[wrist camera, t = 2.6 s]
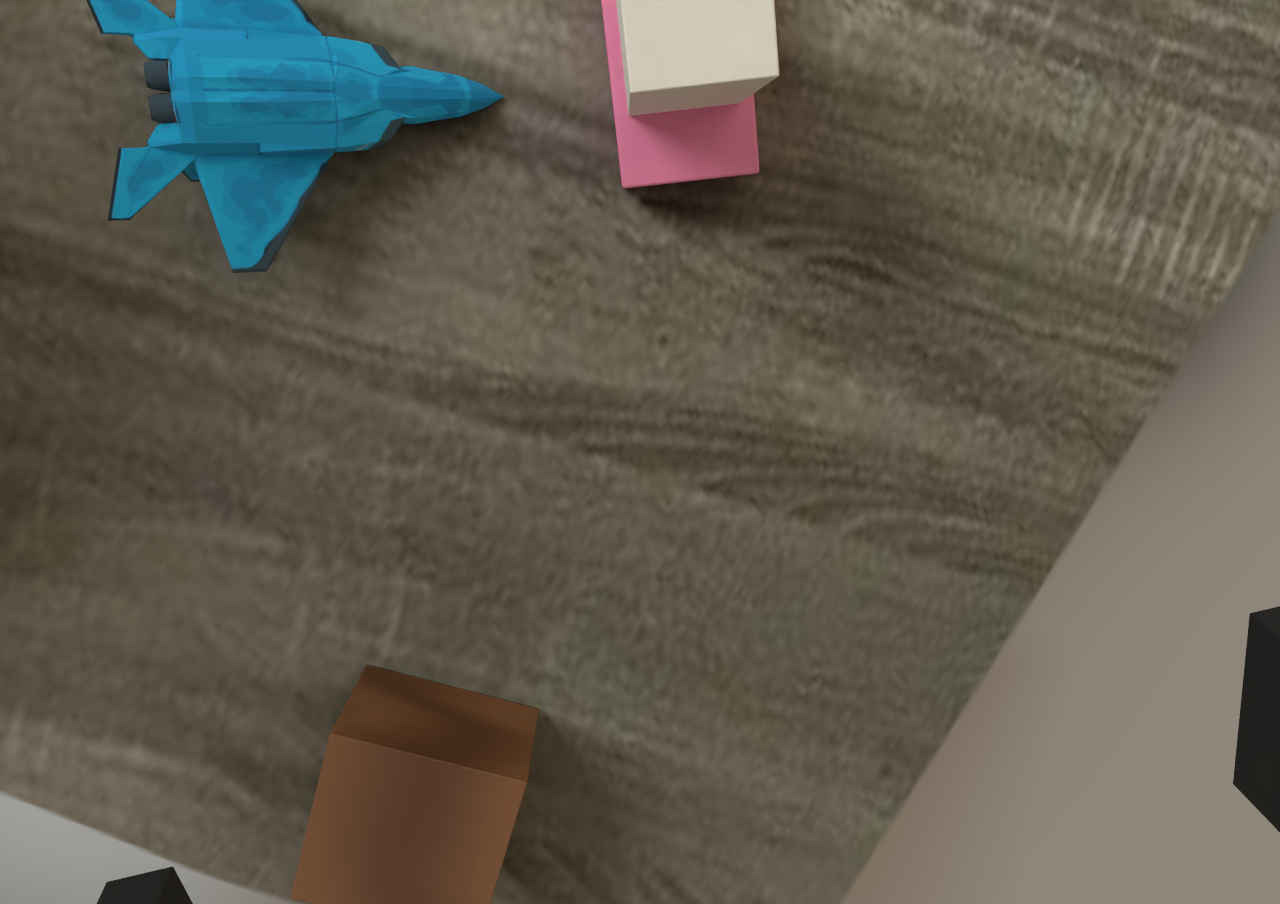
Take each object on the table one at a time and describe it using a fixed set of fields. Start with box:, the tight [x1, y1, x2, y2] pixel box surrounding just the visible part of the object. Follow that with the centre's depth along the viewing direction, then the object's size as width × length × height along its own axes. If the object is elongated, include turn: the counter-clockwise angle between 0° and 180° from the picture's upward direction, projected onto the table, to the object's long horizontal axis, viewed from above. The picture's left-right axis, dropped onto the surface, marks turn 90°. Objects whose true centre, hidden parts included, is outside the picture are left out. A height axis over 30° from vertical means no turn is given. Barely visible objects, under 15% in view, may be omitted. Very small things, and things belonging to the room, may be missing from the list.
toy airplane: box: [87, 0, 504, 273], centre depth 30 cm, size 12×10×4 cm
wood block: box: [290, 665, 539, 904], centre depth 37 cm, size 7×7×5 cm
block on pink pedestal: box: [601, 0, 779, 189], centre depth 28 cm, size 8×4×10 cm, turn 6°
